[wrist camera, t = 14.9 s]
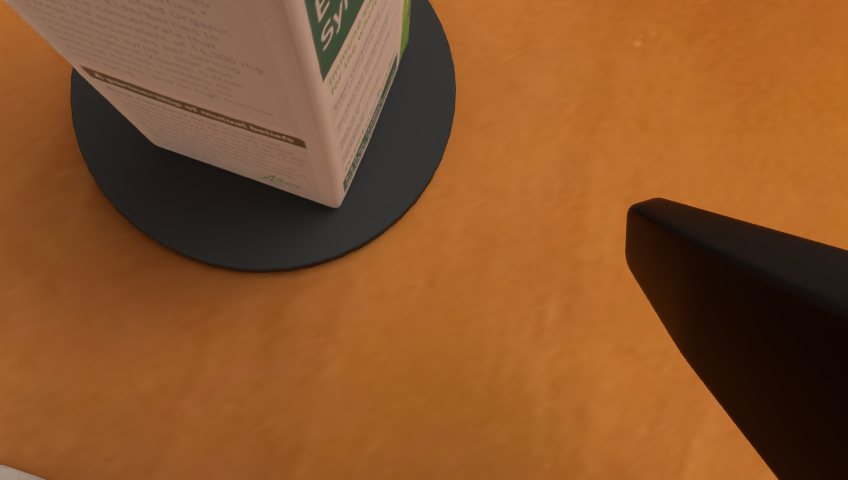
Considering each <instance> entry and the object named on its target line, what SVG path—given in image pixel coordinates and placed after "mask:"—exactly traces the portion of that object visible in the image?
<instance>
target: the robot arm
mask: <svg viewBox="0 0 848 480" xmlns="http://www.w3.org/2000/svg"><path fill="white" fill-rule="evenodd" d="M625 254H626V260H627V264H628V266H629V269H630V271H631V272H632V274H633V276H634V277H635V279H636V281H637V282H638V284H639V285H640V287H641V289H642V290H643V292H644V294H645V295H646V297H647V299H648V300H649V302H650V303H651V305H652V307H653V308H654V310H655V312H656V313H657V315H658V317H659V318H660V320H661V322H662V323H663V325H664V326H665V328H666V330H667V331H668V333H669V335H670V336H671V338H672V340H673V341H674V343H675V344H676V346H677V347H678V349H679V350H680V352H681V353H682V355H683V356H684V358H685V359H686V361H687V362H688V363H689V365H690V366H691V367H692V369H693V370H694V371H695V373H696V374H697V375H698V376H699V378H700V379H701V380H702V382H703V383H704V384H705V385H706V387H707V388H708V389H709V391H710V392H711V393H712V395H713V396H714V397H715V398H716V400H717V401H718V402H719V404H720V405H721V406H722V407H723V409H724V410H725V411H726V413H727V414H728V415H729V416H730V418H731V419H732V420H733V422H734V423H735V424H736V425H737V427H738V428H739V429H740V431H741V432H742V433H743V434H744V436H745V437H746V438H747V440H748V441H749V442H750V444H751V445H752V446H753V447H754V449H755V450H756V451H757V453H758V454H759V455H760V456H761V458H762V459H763V460H764V462H765V463H766V464H767V465H768V467H769V468H770V469H771V471H772V472H773V473H774V474H775V476H776V477H777V478H778V480H848V250H844V249H841V248H837V247H834V246H830V245H827V244H823V243H819V242H816V241H812V240H809V239H805V238H802V237H798V236H795V235H791V234H788V233H784V232H780V231H777V230H773V229H770V228H766V227H763V226H759V225H756V224H752V223H748V222H745V221H741V220H738V219H734V218H731V217H727V216H724V215H720V214H716V213H713V212H709V211H706V210H702V209H699V208H695V207H692V206H688V205H685V204H681V203H677V202H674V201H670V200H667V199H663V198H653V199H649V200H646V201H643V202H639V203H636V204H633V205H632V206H631V207H630V208H629V210H628V213H627V226H626V248H625Z"/></svg>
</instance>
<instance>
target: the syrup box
mask: <svg viewBox="0 0 848 480" xmlns="http://www.w3.org/2000/svg"><path fill="white" fill-rule="evenodd" d="M4 1H5V2H6V3H7V4H8V5H9V6H10V7H11V8H13V9H14V10H15V11H16V13H17V14H18V15H19V16H20V17H21V18H22V19H23V20H24V21H25V22H27V23H28V24H29V25H30V26H31V27H32V28H33V29H34V30H35V31H36V32H37V33H38V34H39V35H40V36H41V37H42V38H43V39H45V40H46V41H47V42H48V43H49V44H50V45H51V46H52V47H53V48H54V49H55V50H56V51H57V52H58V53H59V54H60V55H61V56H62V57H63V58H64V59H65V60H67V61H68V62H69V63H70V64H71V65H72V66H73V67H74V68H75V69H76V70H77V71H78V72H79V74H80V75H82V76H83V77H84V78H85V79H86V80H87V81H88V82H89V83H90V84H91V85H92V86H93V87H94V88H95V89H96V90H97V91H98V92H99V93H101V94H102V95H103V96H104V97H105V98H106V99H107V100H108V101H109V102H110V103H111V104H112V105H113V106H114V107H115V108H116V109H117V110H118V111H119V112H121V113H122V114H123V115H124V116H125V117H126V118H127V119H128V120H129V121H130V122H131V123H132V124H133V125H134V126H135V127H136V128H137V129H138V130H139V131H140V132H141V133H142V134H144V135H145V136H146V137H147V138H148V139H149V140H150V141H151V142H152V143H153V144H155V145H157V146H159V147H162V148H165V149H168V150H170V151H173V152H176V153H179V154H182V155H185V156H188V157H190V158H193V159H196V160H199V161H202V162H205V163H208V164H211V165H213V166H216V167H219V168H222V169H225V170H228V171H230V172H233V173H236V174H239V175H242V176H245V177H248V178H250V179H253V180H256V181H259V182H262V183H265V184H267V185H270V186H273V187H276V188H278V189H281V190H284V191H287V192H290V193H292V194H295V195H298V196H301V197H304V198H307V199H310V200H312V201H315V202H318V203H321V204H323V205H326V206H329V207H333V208H338V207H339V206H341V204H342V201H343V199H344V197H345V195H346V193H347V191H348V189H349V186H350V184H351V182H352V180H353V178H354V175H355V173H356V171H357V168H358V166H359V164H360V161H361V159H362V157H363V155H364V152H365V150H366V148H367V146H368V143H369V141H370V138H371V136H372V133H373V130H374V128H375V125H376V123H377V120H378V118H379V115H380V113H381V110H382V108H383V105H384V103H385V100H386V98H387V95H388V92H389V90H390V87H391V85H392V82H393V79H394V77H395V74H396V72H397V69H398V66H399V63H400V61H401V58H402V56H403V53H404V50H405V48H406V46H407V43H408V36H409V22H410V11H411V0H4Z"/></svg>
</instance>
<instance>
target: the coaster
mask: <svg viewBox="0 0 848 480" xmlns="http://www.w3.org/2000/svg"><path fill="white" fill-rule="evenodd" d="M455 95H456V85H455V73H454V65H453V60H452V56H451V51H450V47H449V43H448V41H447V38H446V35H445V33H444V30H443V27H442V25H441V23H440V21H439V19H438V17H437V15H436V13H435V11H434V9H433V8H432V6H431V4H430V2H429V1H428V0H411V11H410V22H409V36H408V43H407V46H406V48H405V50H404V53H403V56H402V58H401V61H400V63H399V66H398V69H397V72H396V74H395V77H394V79H393V82H392V85H391V87H390V90H389V92H388V95H387V98H386V100H385V103H384V105H383V108H382V110H381V113H380V115H379V118H378V120H377V123H376V125H375V128H374V130H373V133H372V136H371V138H370V141H369V143H368V146H367V148H366V150H365V152H364V155H363V157H362V159H361V161H360V164H359V166H358V168H357V171H356V173H355V175H354V178H353V180H352V182H351V184H350V186H349V189H348V191H347V193H346V195H345V197H344V199H343V201H342V204H341V206H339V207H338V208H333V207H329V206H326V205H323V204H321V203H318V202H315V201H312V200H310V199H307V198H304V197H301V196H298V195H295V194H292V193H290V192H287V191H284V190H281V189H278V188H276V187H273V186H270V185H267V184H265V183H262V182H259V181H256V180H253V179H250V178H248V177H245V176H242V175H239V174H236V173H233V172H230V171H228V170H225V169H222V168H219V167H216V166H213V165H211V164H208V163H205V162H202V161H199V160H196V159H193V158H190V157H188V156H185V155H182V154H179V153H176V152H173V151H170V150H168V149H165V148H162V147H159V146H157V145H155V144H153V143H152V142H151V141H150V140H149V139H148V138H147V137H146V136H145V135H144V134H142V133H141V132H140V131H139V130H138V129H137V128H136V127H135V126H134V125H133V124H132V123H131V122H130V121H129V120H128V119H127V118H126V117H125V116H124V115H123V114H122V113H121V112H119V111H118V110H117V109H116V108H115V107H114V106H113V105H112V104H111V103H110V102H109V101H108V100H107V99H106V98H105V97H104V96H103V95H102V94H101V93H99V92H98V91H97V90H96V89H95V88H94V87H93V86H92V85H91V84H90V83H89V82H88V81H87V80H86V79H85V78H84V77H83V76H82V75H80V74H79V72H78V71H77V70H76V69H75V68H74V67H73V70H72V76H71V108H72V117H73V125H74V129H75V133H76V136H77V140H78V144H79V148H80V150H81V152H82V155H83V157H84V159H85V162H86V164H87V166H88V169H89V171H90V173H91V174H92V176H93V177H94V179H95V181H96V182H97V184H98V186H99V187H100V189H101V190H102V192H103V193H104V194H105V196H106V197H107V198H108V199H109V200H110V202H111V203H112V204H113V205H114V206H115V208H116V209H117V210H118V211H119V212H120V213H121V214H122V215H123V216H124V217H126V218H127V219H128V220H129V221H130V222H131V223H132V224H133V225H134V226H136V227H137V228H138V229H139V230H141V231H142V232H144V233H145V234H147V235H148V236H150V237H151V238H153V239H154V240H156V241H157V242H158V243H160V244H162V245H164V246H166V247H168V248H170V249H172V250H174V251H176V252H178V253H180V254H182V255H184V256H186V257H189V258H192V259H194V260H197V261H200V262H203V263H206V264H209V265H213V266H218V267H223V268H228V269H232V270H240V271H254V272H273V271H289V270H295V269H300V268H305V267H311V266H315V265H318V264H321V263H325V262H328V261H331V260H334V259H337V258H340V257H342V256H344V255H346V254H348V253H350V252H352V251H354V250H357V249H359V248H361V247H362V246H364V245H366V244H367V243H369V242H370V241H372V240H373V239H375V238H377V237H378V236H380V235H381V234H383V233H384V232H385V231H386V230H387V229H389V228H390V227H391V226H392V225H393V224H395V223H396V222H397V221H398V220H399V219H401V218H402V217H403V215H404V214H405V213H406V212H407V211H408V210H409V209H410V208H411V207H412V206H413V204H414V203H415V202H416V201H417V200H418V199H419V197H420V196H421V194H422V193H423V191H424V190H425V188H426V187H427V186H428V184H429V183H430V181H431V179H432V177H433V175H434V173H435V171H436V169H437V168H438V166H439V164H440V162H441V159H442V157H443V154H444V151H445V148H446V145H447V142H448V139H449V136H450V133H451V128H452V123H453V117H454V112H455Z"/></svg>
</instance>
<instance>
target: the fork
mask: <svg viewBox="0 0 848 480" xmlns="http://www.w3.org/2000/svg"><path fill="white" fill-rule="evenodd" d="M0 480H46V479H44V478H41V477H38V476H35V475H32V474H29V473H26V472H23V471H20V470H17V469H15V468H12V467H8V466H5V465H0Z"/></svg>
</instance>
